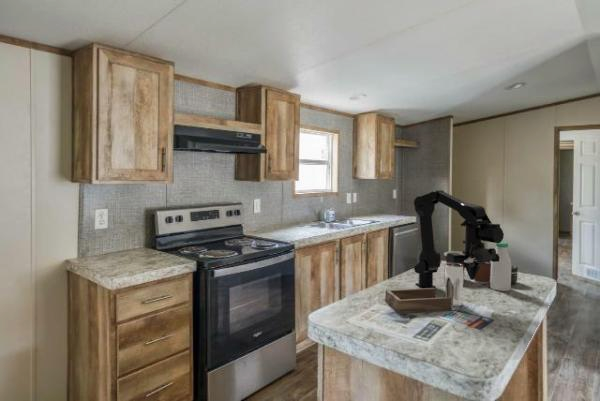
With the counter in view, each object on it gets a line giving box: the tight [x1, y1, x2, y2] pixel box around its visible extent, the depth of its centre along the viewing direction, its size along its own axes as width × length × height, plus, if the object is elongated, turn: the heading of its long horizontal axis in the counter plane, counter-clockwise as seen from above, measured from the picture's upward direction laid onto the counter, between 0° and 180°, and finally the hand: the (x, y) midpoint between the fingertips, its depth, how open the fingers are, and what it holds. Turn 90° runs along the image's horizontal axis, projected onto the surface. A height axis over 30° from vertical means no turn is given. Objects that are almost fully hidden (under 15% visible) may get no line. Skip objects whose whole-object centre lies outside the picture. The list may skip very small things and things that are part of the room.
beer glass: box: [443, 262, 465, 307], centre depth 141 cm, size 7×7×15 cm
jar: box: [511, 264, 519, 286], centre depth 170 cm, size 10×10×8 cm
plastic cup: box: [443, 250, 466, 270], centre depth 175 cm, size 11×11×12 cm
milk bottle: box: [489, 241, 512, 292], centre depth 159 cm, size 8×8×20 cm
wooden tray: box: [384, 287, 453, 315], centre depth 140 cm, size 14×20×4 cm
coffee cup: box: [473, 261, 491, 285], centre depth 170 cm, size 9×9×12 cm
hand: (472, 279), depth 142 cm, fingers closed
